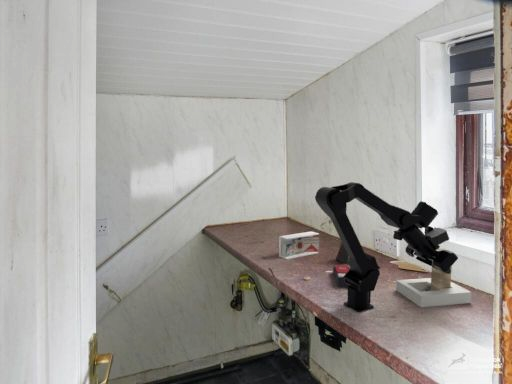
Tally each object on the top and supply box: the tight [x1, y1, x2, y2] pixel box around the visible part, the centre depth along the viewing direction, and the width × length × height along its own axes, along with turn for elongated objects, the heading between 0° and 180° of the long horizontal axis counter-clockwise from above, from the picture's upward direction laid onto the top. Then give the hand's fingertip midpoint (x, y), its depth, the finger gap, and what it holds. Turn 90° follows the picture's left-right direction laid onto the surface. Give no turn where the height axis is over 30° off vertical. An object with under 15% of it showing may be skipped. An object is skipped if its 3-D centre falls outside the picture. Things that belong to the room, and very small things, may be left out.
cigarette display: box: [278, 230, 320, 260], centre depth 162 cm, size 20×6×9 cm, turn 121°
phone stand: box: [335, 242, 349, 265], centre depth 152 cm, size 9×6×12 cm, turn 106°
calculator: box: [332, 264, 361, 288], centre depth 130 cm, size 11×4×15 cm
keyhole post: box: [426, 247, 453, 291], centre depth 114 cm, size 6×6×15 cm
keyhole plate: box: [395, 277, 472, 308], centre depth 115 cm, size 17×14×4 cm
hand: (445, 270), depth 115 cm, fingers closed on keyhole post, 4 cm apart
